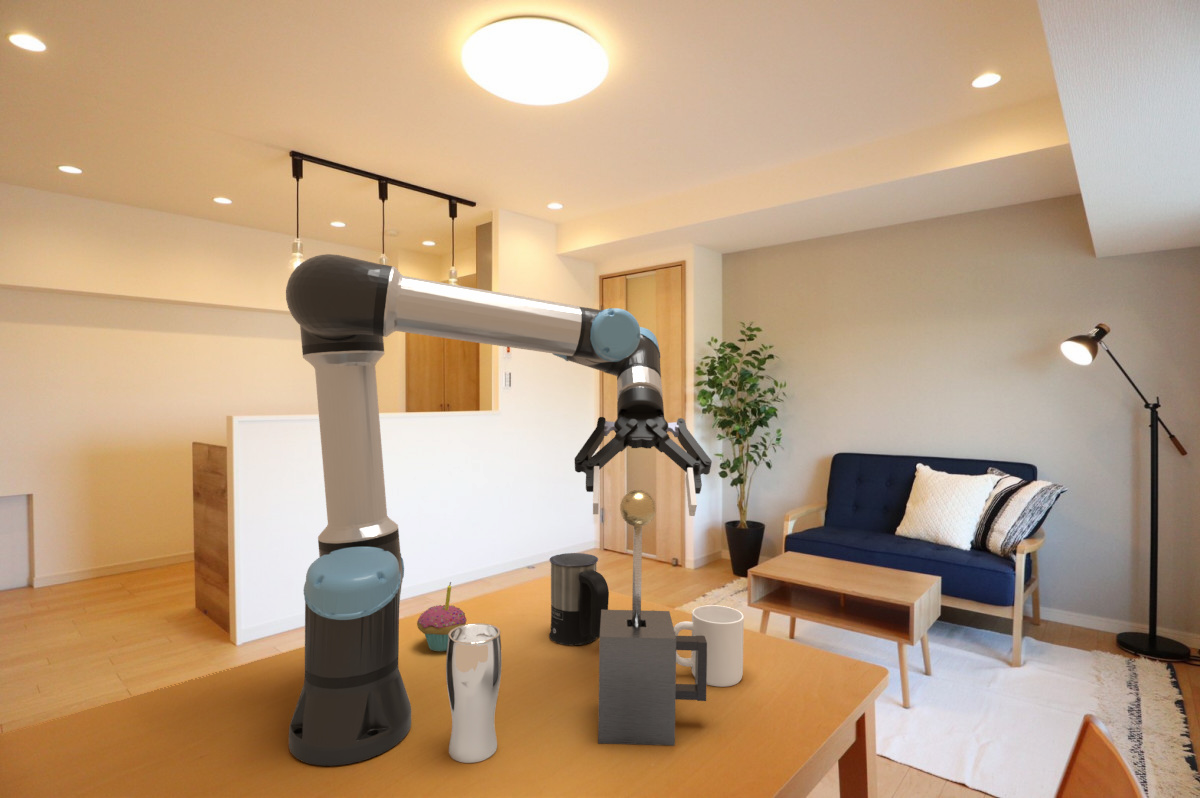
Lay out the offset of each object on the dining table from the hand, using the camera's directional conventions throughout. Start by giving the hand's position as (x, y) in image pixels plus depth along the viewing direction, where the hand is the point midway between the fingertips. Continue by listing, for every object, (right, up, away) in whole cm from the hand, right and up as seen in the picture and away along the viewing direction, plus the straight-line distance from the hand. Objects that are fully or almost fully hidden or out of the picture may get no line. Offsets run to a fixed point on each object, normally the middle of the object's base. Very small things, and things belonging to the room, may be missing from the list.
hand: (644, 510), depth 84 cm
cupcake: (-35, -29, +24) cm, 52 cm away
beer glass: (-22, -30, -7) cm, 38 cm away
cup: (+11, -30, +14) cm, 35 cm away
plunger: (-1, -19, -1) cm, 19 cm away
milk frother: (-7, -30, +31) cm, 43 cm away
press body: (+1, -30, -1) cm, 30 cm away
